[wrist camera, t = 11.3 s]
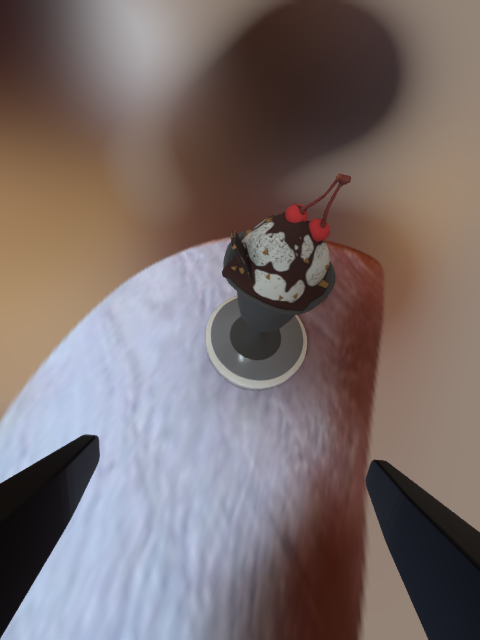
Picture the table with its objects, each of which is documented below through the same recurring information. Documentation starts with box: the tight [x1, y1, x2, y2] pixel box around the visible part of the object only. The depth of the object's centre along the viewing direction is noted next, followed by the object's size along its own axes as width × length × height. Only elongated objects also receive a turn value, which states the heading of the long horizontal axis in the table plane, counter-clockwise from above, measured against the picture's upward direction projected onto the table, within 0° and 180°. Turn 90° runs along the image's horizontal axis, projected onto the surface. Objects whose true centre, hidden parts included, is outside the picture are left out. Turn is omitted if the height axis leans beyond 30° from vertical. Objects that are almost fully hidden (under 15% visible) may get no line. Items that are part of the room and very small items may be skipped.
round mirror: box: [206, 296, 307, 391], centre depth 24 cm, size 10×10×2 cm
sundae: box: [222, 174, 351, 360], centre depth 16 cm, size 7×7×15 cm
